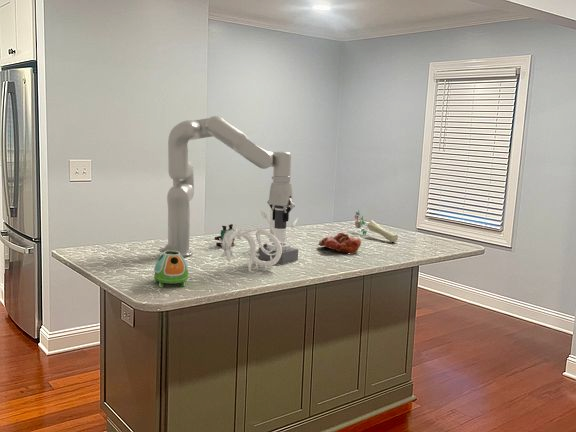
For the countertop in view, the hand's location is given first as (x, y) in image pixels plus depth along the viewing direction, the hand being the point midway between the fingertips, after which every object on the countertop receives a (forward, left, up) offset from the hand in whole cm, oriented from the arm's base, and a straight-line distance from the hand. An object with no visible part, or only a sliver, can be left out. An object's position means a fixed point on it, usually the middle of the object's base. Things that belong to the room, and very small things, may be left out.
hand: (280, 220), depth 253 cm
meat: (+38, -7, -18) cm, 43 cm away
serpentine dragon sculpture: (-17, -2, -18) cm, 25 cm away
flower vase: (+80, -2, -18) cm, 82 cm away
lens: (0, 0, -3) cm, 3 cm away
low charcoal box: (0, 0, -18) cm, 18 cm away
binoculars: (+2, +36, -18) cm, 41 cm away
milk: (+15, +13, -18) cm, 27 cm away
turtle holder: (-59, +4, -18) cm, 62 cm away
